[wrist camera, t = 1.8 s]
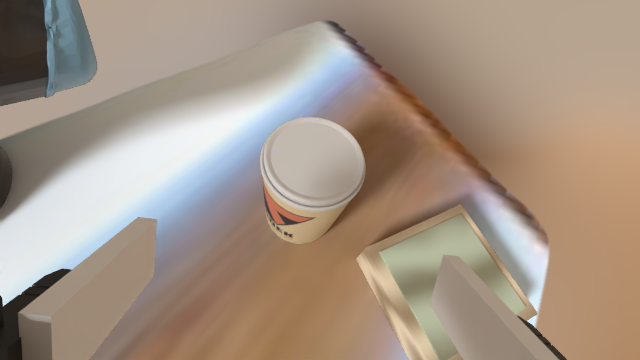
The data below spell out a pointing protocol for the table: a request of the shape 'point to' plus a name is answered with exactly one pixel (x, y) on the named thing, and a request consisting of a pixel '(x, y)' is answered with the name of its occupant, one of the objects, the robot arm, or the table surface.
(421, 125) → the table surface
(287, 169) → the coffee cup
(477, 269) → the birch riser
